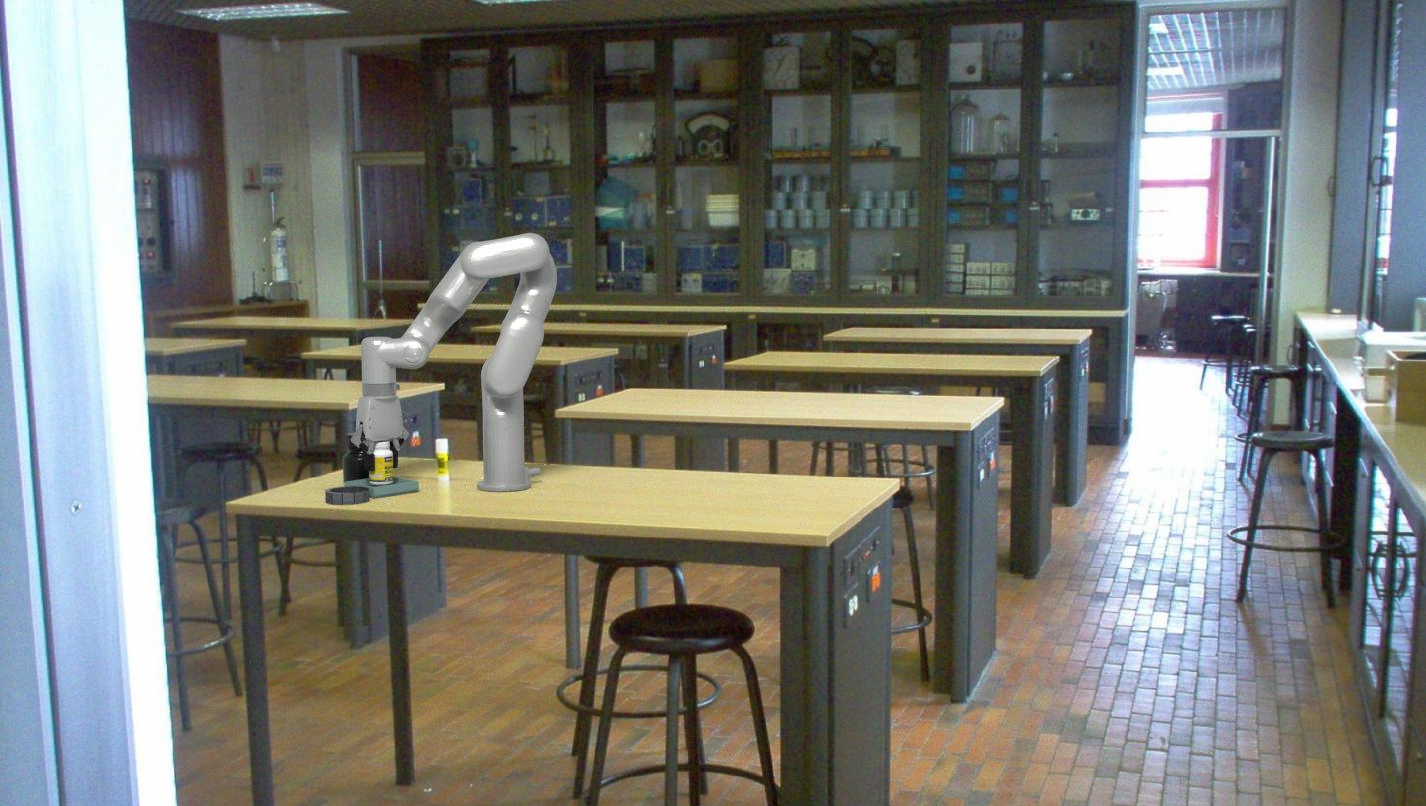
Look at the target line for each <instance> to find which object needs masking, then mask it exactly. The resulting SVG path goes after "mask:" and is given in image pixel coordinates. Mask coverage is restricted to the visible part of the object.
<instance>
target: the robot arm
mask: <svg viewBox="0 0 1426 806" xmlns="http://www.w3.org/2000/svg"><path fill="white" fill-rule="evenodd" d="M516 274H517V275H518V274H519V276H520V279H519V283H518V286H517V289H516V292H515V295H514V297H513V300H512V302H511V305H510V307H509V308H508V310H507V313H506V316H505V318H504V319H503V320H502V323H501V325H500V334H499V336H498V337H499V338H498V339H497V342H496V344H495V347H494V349H493V351H492V354H491V356H489V357H488V358H487V359H486V360H485V361H484V363H483V366H482V369H481V372H480V382H481V384H480V385H481V400H482V401H481V403H482V457H483V458H482V460H483V462H482V463H483V480H480V481H478V482H477V483H476V487H477V488H476V489H479V490H480V491H481V490H482V491H487V492H515V491H516V492H517V491H521V490H527V489H530V488H531V487H532V481H531V480H529V478H531V477H536V476H540V475H541V469H540V468H539V467H538V466H537V467H531V468H529V467H528V466H525V427H524V425H525V423H524V422H525V417H524V415H525V414H524V413H525V411H524V408H525V407H524V387H525V385H526V383H527V381H528V379H529V376H530V374H531V372H532V369H533V367H534V364H535V362H536V360H537V357H538V356H539V355H538V354H539V353H540V349H541V348H542V345H543V342H544V337H545V329H544V323H545V320H546V318H547V316H548V313H549V310H550V306H552V305H551V304H552V302H553V299H554V297H555V294H556V290H557V283H558V273H557V267H556V264H555V261H554V258H553V256H552V254H551V253H550V247H549V244H548V241H546V240H545V238H544V237H543V236H541V235H540V234H538V233H534V232H527V233H521V234H517V235H513V236H512V235H510V236H507V237H502V238H496V239H490V240H482V241H475V242H472V243H470V244H468V245H467V246H466V247H465V248H464V249H463V251H462V252H461V253H460V254H459V255H458V257H457V258H456V260H455V261H454V263H453V264H452V265H451V266H450V268H449V270H447V272H446V273H445V275H444V276H443V278H442V279H441V280H440V282H438V284H437V286H436V287H435V288H434V289H433V291H432V293H431V294H430V296H429V297H428V299H427V301H426V303H425V304H424V306H423V308H422V309H421V310H420V312H419V313H418V314H417V316H416V317H415V318H414V320H413V322H412V323H411V324H410V325H409V327H408V328H407V329H406V331H405V332H404V334H402V336H401V337H400V338H392V337H389V336H369V337H365V338H363V339H362V341H361V344H360V348H361V349H360V351H361V352H360V353H361V357H360V358H361V384H362V387H361V389H362V390H361V391H362V396H361V397H358V402H357V408H356V417H355V419H356V420H355V431H354V432H355V434H354V435H353V436H352V438H351V442H352V443H354V444H355V445H356V446H357V447H358V448H359V449H360V450H361V452H362V453H364V467H365V470H366V471H375V455H374V454H372V451H373V448H374V444H375V441H381V440H387V441H390V446H389V450H391V451H392V452H393V469H398V468H399V467H398V466H399V451H400V450H401V447H402V446H403V444H404V442H405V441H406V440H407V439H408V437H410V432H409V431H408V430H407V429H406V428H405V426H404V424H403V414H402V407H401V402H400V398H399V395H397V391H399V390H401V386H400V384H398V383H397V378H396V377H397V373H396V370H397V369H396V368H398V369H405V370H406V369H407V370H417V369H420V368H421V367H424V365H425V364H426V363H427V362H428V361H429V359H430V358H429V357H430V354H431V352H432V351H433V350H434V348H435V347H436V345H437V344H438V343H439V341H440V340H441V339H442V338H443V336H444V335H445V333H446V332H447V331H448V330H449V329H450V327H451V326H453V324H454V323H456V322H457V321H458V320H459V319H461V318H462V317H463V315H464V313H466V311H467V310H468V309H469V307H470V306H471V304H472V303H473V301H474V300H475V298H476V297H477V296H478V294H479V293H480V292H481V290H482V289H483V288H484V286H485V285H486V284H487V282H489V280H490V279H494V278H499V277H500V278H501V277H505V276H510V275H516ZM360 440H364V441H363V443H362V441H360Z"/></svg>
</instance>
